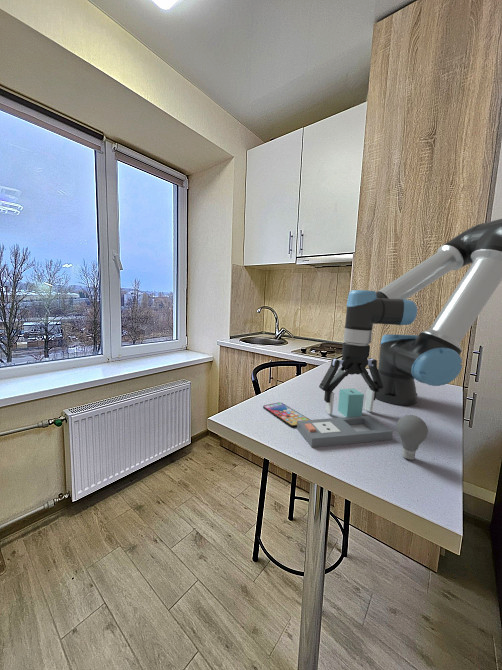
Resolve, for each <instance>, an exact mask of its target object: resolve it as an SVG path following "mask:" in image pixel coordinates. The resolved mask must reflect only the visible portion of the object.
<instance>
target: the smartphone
mask: <svg viewBox="0 0 502 670" xmlns="http://www.w3.org/2000/svg"><path fill="white" fill-rule="evenodd" d="M262 409H264V410H265V411H266V412H268V413H269V414H270V415H272V416H273V417H275V418H276V419H278V420H279V421H281V422H282V423H284V424H285V425H286V426H287V427H289V428H292V429H295V428H296V429H297V421H302V420H311V419H310V418H309V417H306V416H305V415H303V414H301V412H298V411H297V410H296V409H294V408H291V407H290V406H288V405H287V404H284V403H283V402H274V403H269V404H266V405H265V404H264V405H263V406H262Z"/></svg>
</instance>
